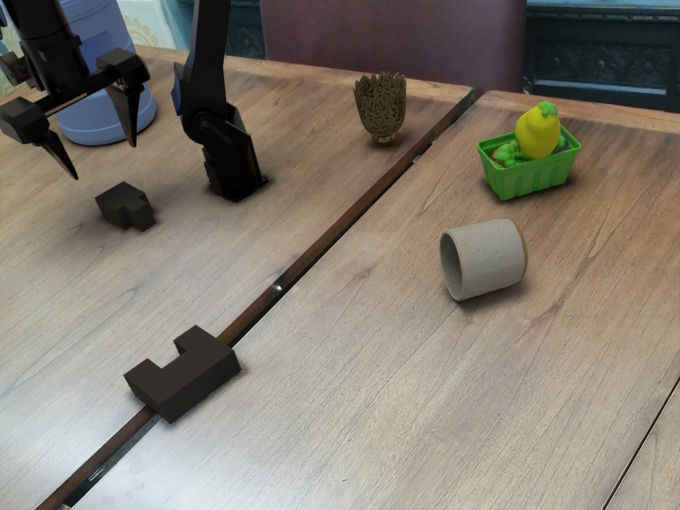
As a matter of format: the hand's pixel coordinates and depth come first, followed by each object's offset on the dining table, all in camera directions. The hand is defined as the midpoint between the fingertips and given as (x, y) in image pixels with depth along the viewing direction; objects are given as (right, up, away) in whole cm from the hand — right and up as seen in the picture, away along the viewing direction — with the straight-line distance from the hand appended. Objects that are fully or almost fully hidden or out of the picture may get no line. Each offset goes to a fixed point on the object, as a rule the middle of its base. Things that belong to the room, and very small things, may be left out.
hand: (105, 162), depth 91 cm
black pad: (+2, -5, +6) cm, 8 cm away
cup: (+37, +8, +10) cm, 39 cm away
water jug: (-8, +18, +23) cm, 31 cm away
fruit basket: (+56, -3, 0) cm, 56 cm away
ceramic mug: (+48, -19, -10) cm, 52 cm away
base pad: (+15, -32, -15) cm, 38 cm away
